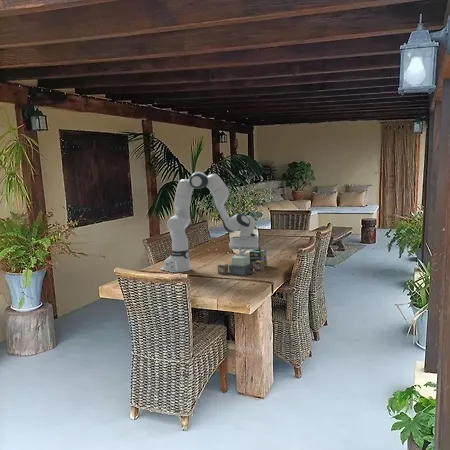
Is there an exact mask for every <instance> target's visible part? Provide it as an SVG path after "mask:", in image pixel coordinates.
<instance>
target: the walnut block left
mask: <svg viewBox="0 0 450 450" xmlns="http://www.w3.org/2000/svg"><path fill="white" fill-rule="evenodd" d="M217 274H218V275H226V274H227V275H228V274H229V264H228V263H220V264H217Z"/></svg>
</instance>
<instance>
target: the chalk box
mask: <svg viewBox="0 0 450 450" xmlns="http://www.w3.org/2000/svg"><path fill="white" fill-rule="evenodd" d="M249 256H250V263H253V269H254V262H256V261H264V268H265V267H267V266H268V263H267V261H268V259H267V258H268V257H267V249H262V248H261V246H258V249H257V250H250V251H249Z"/></svg>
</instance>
